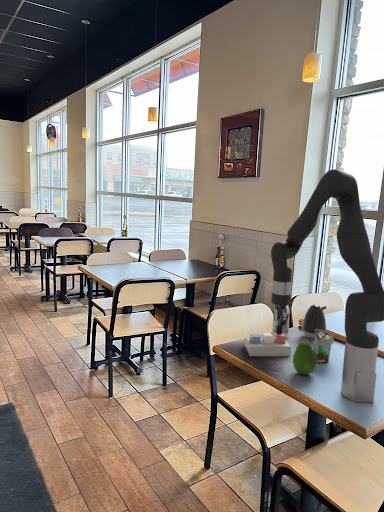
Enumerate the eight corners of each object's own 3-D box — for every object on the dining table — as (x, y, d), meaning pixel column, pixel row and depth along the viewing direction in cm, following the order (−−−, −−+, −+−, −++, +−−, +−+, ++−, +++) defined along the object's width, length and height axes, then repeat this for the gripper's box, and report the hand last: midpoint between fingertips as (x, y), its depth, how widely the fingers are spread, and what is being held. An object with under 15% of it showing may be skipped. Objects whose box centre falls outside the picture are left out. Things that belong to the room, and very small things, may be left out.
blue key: (260, 347, 147) (260, 336, 146) (251, 347, 147) (252, 336, 146) (258, 344, 150) (258, 333, 150) (249, 344, 150) (250, 333, 150)
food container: (334, 367, 136) (336, 341, 134) (317, 365, 137) (319, 339, 136) (329, 354, 148) (331, 330, 146) (313, 352, 149) (315, 328, 148)
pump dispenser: (330, 341, 162) (333, 307, 159) (309, 342, 159) (311, 308, 157) (317, 332, 172) (320, 301, 169) (297, 334, 169) (299, 302, 167)
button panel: (290, 356, 145) (291, 346, 144) (249, 356, 144) (250, 346, 143) (282, 346, 155) (283, 337, 154) (244, 345, 154) (245, 336, 153)
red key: (284, 346, 148) (285, 336, 147) (276, 346, 147) (277, 336, 147) (282, 343, 151) (283, 333, 150) (274, 343, 151) (274, 333, 150)
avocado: (287, 372, 131) (289, 340, 129) (302, 367, 135) (304, 335, 134) (305, 381, 125) (308, 347, 123) (320, 376, 129) (323, 343, 127)
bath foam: (286, 340, 161) (289, 295, 158) (270, 337, 164) (273, 293, 161) (289, 335, 167) (292, 292, 164) (273, 332, 170) (276, 290, 167)
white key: (272, 346, 147) (273, 336, 147) (264, 346, 147) (264, 336, 146) (270, 343, 151) (271, 333, 150) (262, 343, 150) (262, 333, 150)
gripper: (296, 296, 139) (293, 340, 142) (285, 287, 152) (282, 328, 155) (277, 296, 139) (274, 340, 141) (267, 287, 152) (265, 328, 154)
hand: (278, 333), depth 148 cm, fingers closed
